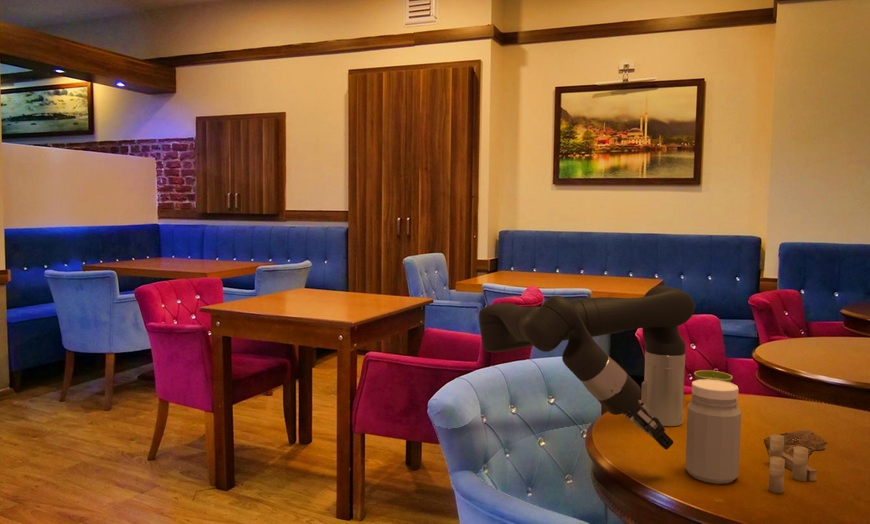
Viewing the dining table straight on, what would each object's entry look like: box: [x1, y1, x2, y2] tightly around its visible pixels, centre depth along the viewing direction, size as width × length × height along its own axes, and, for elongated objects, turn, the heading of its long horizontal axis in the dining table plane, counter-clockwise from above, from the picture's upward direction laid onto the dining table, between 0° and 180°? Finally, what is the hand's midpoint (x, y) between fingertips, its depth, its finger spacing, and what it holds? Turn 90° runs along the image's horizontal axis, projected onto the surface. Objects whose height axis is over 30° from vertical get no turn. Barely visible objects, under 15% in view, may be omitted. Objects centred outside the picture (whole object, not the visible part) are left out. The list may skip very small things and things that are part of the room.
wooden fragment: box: [763, 429, 828, 458], centre depth 142 cm, size 26×11×1 cm, turn 132°
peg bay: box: [768, 433, 818, 494], centre depth 126 cm, size 12×18×6 cm, turn 7°
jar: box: [685, 379, 742, 485], centre depth 124 cm, size 10×10×18 cm
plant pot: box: [693, 369, 733, 383], centre depth 169 cm, size 9×9×9 cm
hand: (668, 445), depth 123 cm, fingers closed
